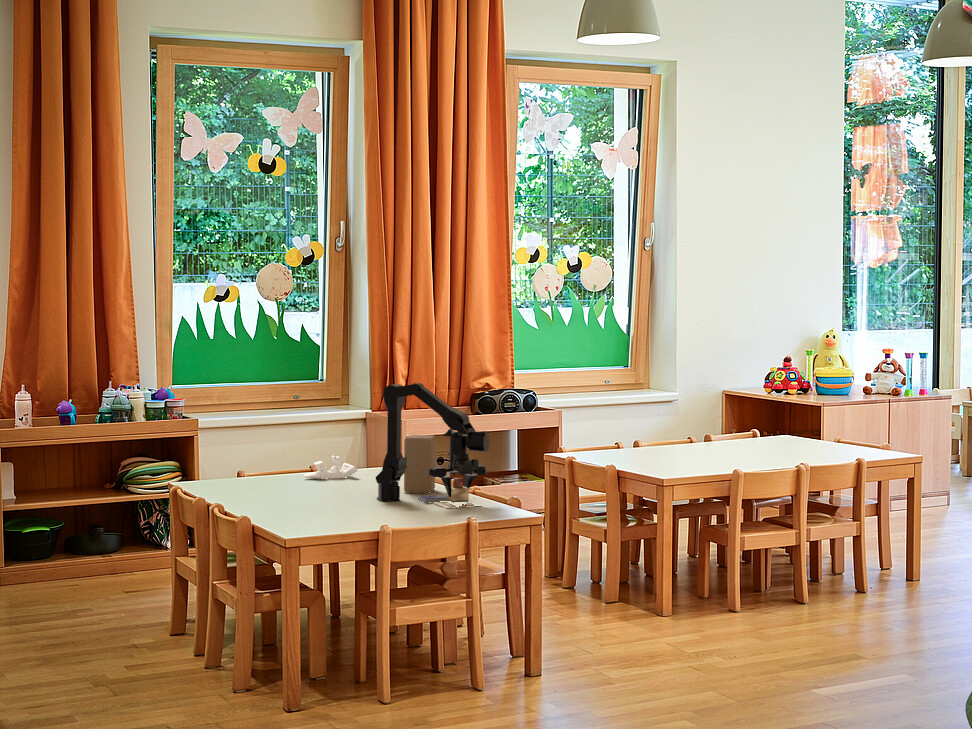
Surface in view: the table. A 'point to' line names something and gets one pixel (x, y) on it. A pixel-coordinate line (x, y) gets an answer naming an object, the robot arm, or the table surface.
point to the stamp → (458, 491)
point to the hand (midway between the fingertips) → (457, 496)
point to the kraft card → (448, 505)
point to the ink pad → (432, 498)
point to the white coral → (332, 470)
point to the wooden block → (419, 463)
